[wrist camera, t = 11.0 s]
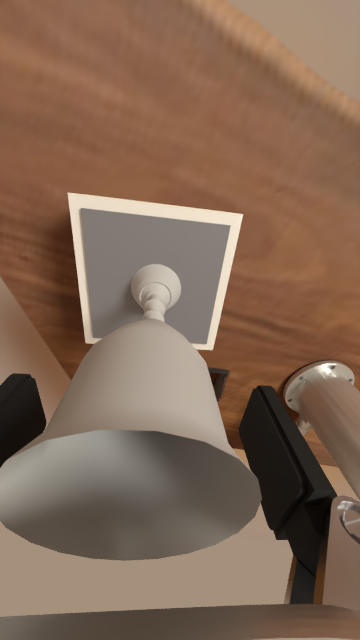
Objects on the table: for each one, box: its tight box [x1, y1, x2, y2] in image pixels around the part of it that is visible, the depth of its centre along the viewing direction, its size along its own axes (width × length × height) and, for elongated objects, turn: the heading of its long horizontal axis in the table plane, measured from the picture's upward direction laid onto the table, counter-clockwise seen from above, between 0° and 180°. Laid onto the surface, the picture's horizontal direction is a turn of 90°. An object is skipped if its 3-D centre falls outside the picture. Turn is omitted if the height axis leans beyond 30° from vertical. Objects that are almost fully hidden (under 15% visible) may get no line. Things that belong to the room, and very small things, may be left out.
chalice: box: [0, 264, 262, 560], centre depth 14 cm, size 7×7×18 cm
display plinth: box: [68, 193, 243, 350], centre depth 25 cm, size 15×15×7 cm
